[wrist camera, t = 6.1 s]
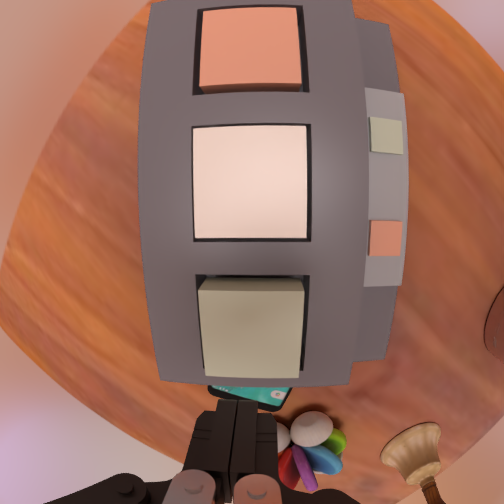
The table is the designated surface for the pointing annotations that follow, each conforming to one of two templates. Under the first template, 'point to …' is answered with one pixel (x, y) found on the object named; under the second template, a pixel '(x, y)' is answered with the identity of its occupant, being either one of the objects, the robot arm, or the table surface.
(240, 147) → the key cream
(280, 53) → the key terracotta
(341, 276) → the keypad
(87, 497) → the robot arm
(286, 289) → the key sage
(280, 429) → the rainbow petal flower toy
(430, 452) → the hand bell
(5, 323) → the table surface
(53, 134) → the table surface
